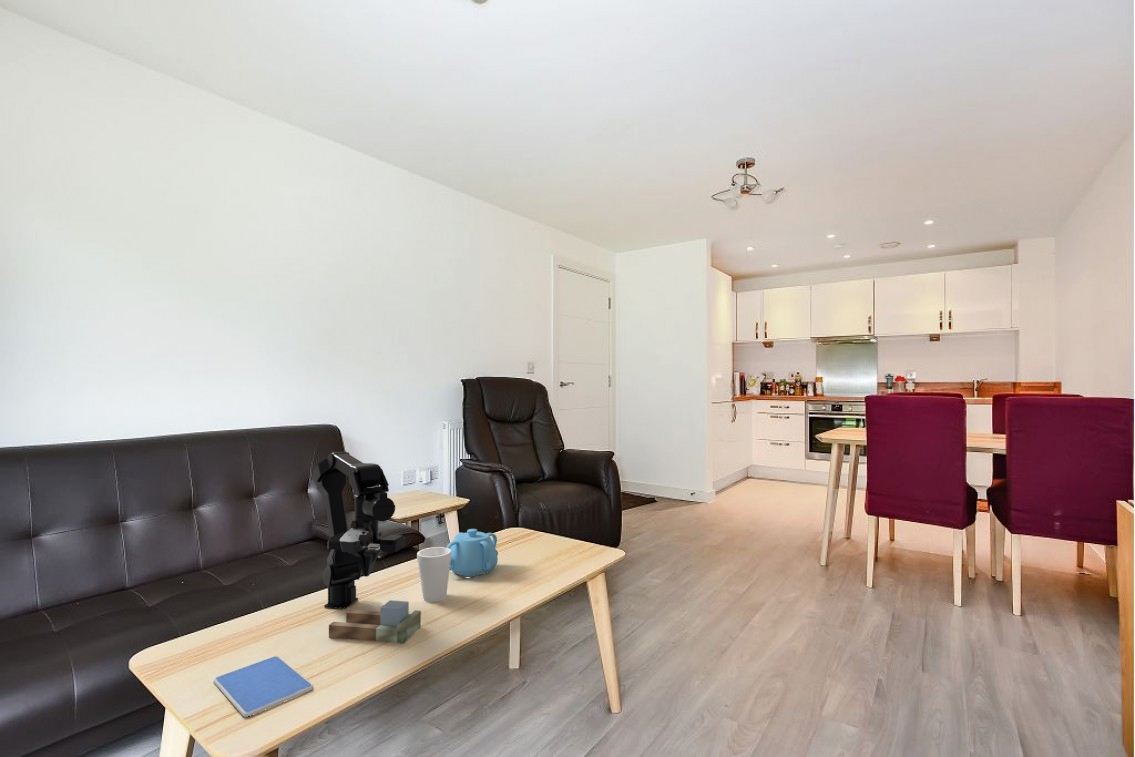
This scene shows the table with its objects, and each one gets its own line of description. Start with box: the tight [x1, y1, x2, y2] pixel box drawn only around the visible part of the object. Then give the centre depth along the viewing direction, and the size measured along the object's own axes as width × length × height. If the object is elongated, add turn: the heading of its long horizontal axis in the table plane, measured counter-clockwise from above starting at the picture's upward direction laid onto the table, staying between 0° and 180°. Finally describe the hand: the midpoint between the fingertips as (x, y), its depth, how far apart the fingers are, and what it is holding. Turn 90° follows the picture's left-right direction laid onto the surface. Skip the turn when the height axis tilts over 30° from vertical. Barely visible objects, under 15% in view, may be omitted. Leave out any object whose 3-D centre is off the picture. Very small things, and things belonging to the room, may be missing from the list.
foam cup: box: [416, 546, 451, 603], centre depth 149 cm, size 10×9×13 cm
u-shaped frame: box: [328, 609, 422, 645], centre depth 129 cm, size 19×9×4 cm, turn 79°
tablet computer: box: [212, 655, 314, 718], centre depth 106 cm, size 19×13×1 cm, turn 49°
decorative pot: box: [446, 528, 499, 578], centre depth 170 cm, size 16×16×14 cm
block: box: [379, 599, 410, 627], centre depth 128 cm, size 5×4×7 cm
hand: (367, 576), depth 134 cm, fingers closed
